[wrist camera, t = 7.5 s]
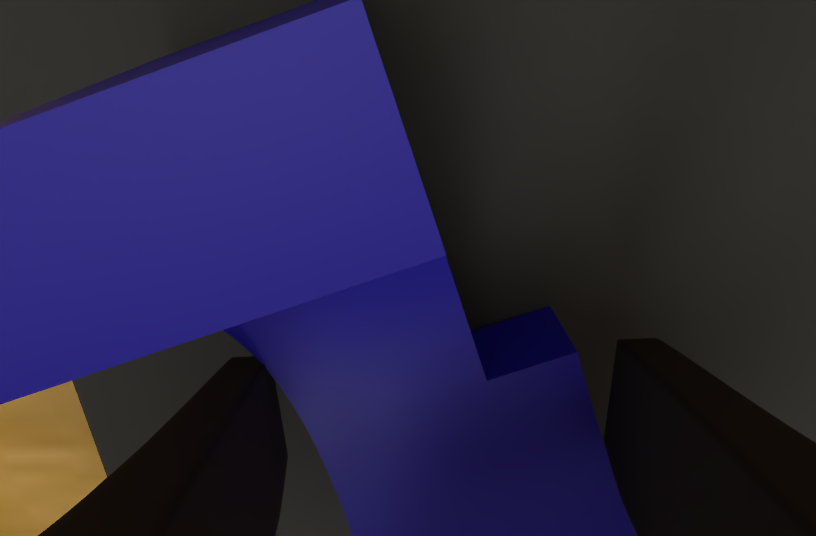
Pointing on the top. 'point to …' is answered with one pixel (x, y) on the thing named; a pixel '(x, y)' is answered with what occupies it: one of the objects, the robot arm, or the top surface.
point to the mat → (530, 183)
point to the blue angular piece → (293, 277)
